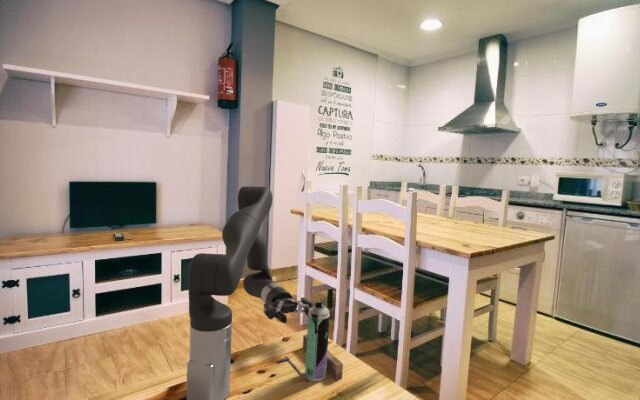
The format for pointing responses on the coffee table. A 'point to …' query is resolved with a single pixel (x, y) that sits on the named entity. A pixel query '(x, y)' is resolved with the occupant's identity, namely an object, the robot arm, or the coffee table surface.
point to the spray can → (317, 342)
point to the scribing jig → (332, 364)
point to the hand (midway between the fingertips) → (299, 317)
